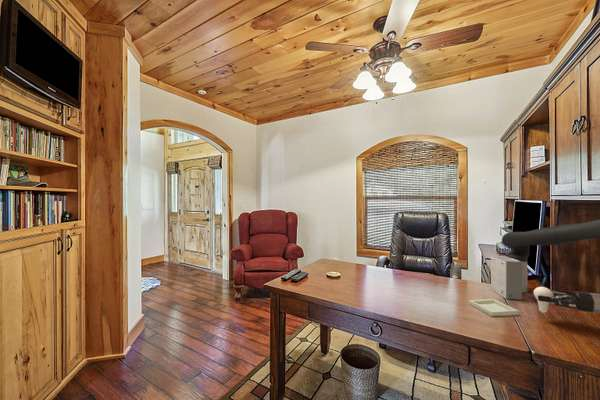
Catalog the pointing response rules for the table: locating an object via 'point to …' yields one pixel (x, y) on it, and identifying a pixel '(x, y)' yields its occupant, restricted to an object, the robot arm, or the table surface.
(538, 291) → the lightbulb
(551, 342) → the table surface
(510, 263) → the hard drive box
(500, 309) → the tray
